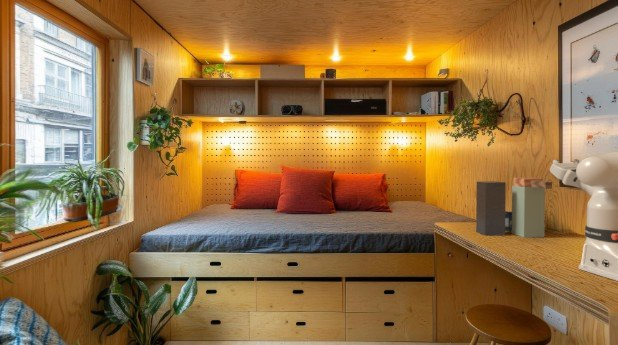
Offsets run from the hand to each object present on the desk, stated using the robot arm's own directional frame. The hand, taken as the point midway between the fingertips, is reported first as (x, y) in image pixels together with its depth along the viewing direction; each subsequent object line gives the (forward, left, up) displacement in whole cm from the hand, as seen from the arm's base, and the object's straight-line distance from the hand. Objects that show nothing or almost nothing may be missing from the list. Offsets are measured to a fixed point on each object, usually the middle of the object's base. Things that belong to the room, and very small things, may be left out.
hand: (565, 160), depth 156 cm
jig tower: (+21, +21, -36) cm, 47 cm away
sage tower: (+15, +6, -36) cm, 40 cm away
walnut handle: (+11, +6, -12) cm, 17 cm away
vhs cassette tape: (+29, +11, -37) cm, 48 cm away
